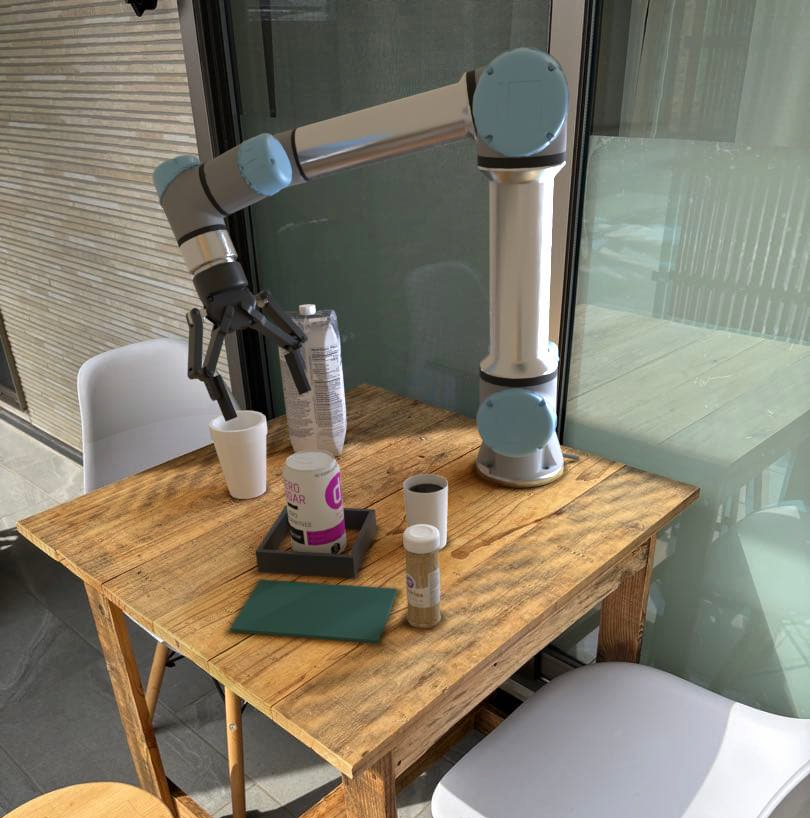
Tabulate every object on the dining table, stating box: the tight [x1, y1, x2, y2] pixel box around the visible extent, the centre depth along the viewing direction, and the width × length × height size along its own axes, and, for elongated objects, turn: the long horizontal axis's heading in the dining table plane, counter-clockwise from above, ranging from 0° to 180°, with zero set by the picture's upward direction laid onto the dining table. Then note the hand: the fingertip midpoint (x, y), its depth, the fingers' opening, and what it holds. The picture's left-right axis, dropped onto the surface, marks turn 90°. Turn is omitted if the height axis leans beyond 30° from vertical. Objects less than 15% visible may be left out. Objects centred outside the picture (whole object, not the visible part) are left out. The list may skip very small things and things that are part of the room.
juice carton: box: [276, 303, 348, 457], centre depth 155 cm, size 9×10×27 cm
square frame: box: [254, 504, 378, 579], centre depth 128 cm, size 15×15×4 cm
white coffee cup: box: [402, 473, 449, 550], centre depth 127 cm, size 7×7×10 cm
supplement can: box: [282, 450, 347, 554], centre depth 125 cm, size 8×8×15 cm
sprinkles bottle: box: [402, 524, 442, 629], centre depth 109 cm, size 5×5×13 cm
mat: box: [229, 579, 398, 645], centre depth 115 cm, size 20×12×1 cm, turn 79°
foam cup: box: [208, 410, 268, 500], centre depth 144 cm, size 10×9×13 cm
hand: (269, 405), depth 129 cm, fingers open, 13 cm apart
